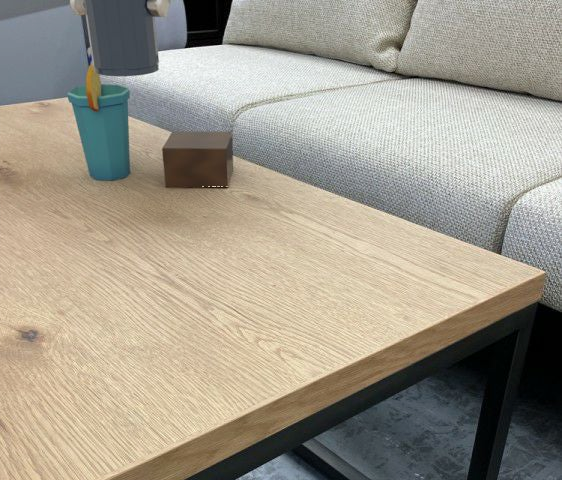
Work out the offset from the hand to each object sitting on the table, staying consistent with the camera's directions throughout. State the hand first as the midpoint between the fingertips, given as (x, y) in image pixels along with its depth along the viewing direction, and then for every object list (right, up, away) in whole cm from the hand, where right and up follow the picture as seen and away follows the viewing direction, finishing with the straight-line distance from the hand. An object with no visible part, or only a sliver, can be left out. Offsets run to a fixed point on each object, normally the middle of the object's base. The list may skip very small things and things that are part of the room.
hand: (117, 11), depth 68 cm
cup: (-7, -8, +27) cm, 29 cm away
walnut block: (+5, -9, +25) cm, 27 cm away
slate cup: (0, -4, +3) cm, 5 cm away
